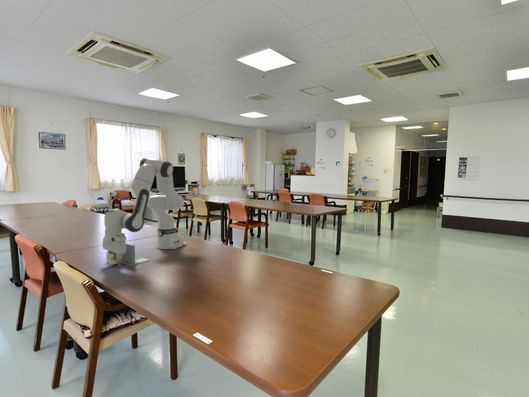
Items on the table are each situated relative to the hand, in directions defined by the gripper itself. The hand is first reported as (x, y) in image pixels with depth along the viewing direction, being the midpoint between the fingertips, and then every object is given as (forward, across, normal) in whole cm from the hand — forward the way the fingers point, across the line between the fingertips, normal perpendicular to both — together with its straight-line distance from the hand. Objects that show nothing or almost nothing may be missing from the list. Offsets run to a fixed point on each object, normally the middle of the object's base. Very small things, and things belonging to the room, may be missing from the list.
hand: (114, 258), depth 172 cm
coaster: (+4, +4, +15) cm, 16 cm away
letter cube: (+2, 0, 0) cm, 2 cm away
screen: (+4, +1, +8) cm, 9 cm away
